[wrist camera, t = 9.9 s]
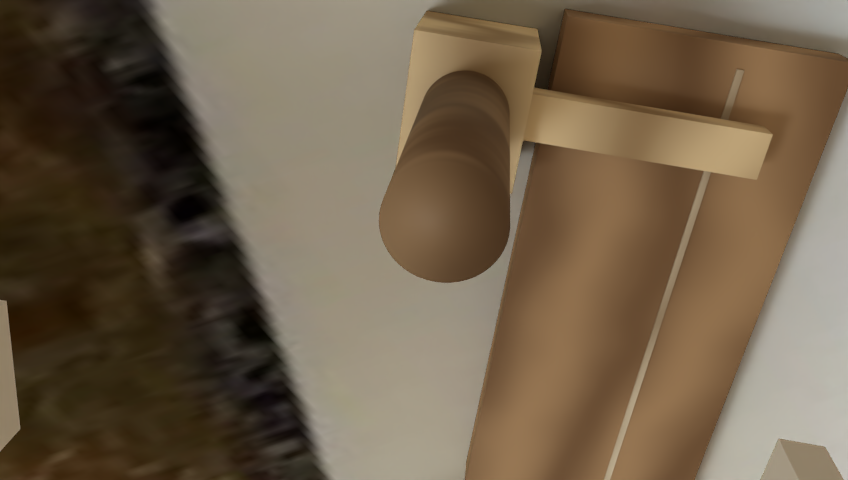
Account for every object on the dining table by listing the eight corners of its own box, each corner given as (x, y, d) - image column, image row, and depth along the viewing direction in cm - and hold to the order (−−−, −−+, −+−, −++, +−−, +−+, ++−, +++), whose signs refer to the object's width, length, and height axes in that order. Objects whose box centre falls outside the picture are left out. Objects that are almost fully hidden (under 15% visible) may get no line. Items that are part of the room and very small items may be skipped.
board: (466, 461, 45) (464, 487, 43) (564, 9, 33) (568, 16, 32) (669, 499, 44) (676, 526, 42) (838, 53, 33) (858, 64, 31)
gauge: (408, 137, 37) (343, 302, 22) (426, 10, 34) (366, 103, 20) (719, 190, 36) (858, 393, 22) (761, 66, 34) (951, 202, 19)
